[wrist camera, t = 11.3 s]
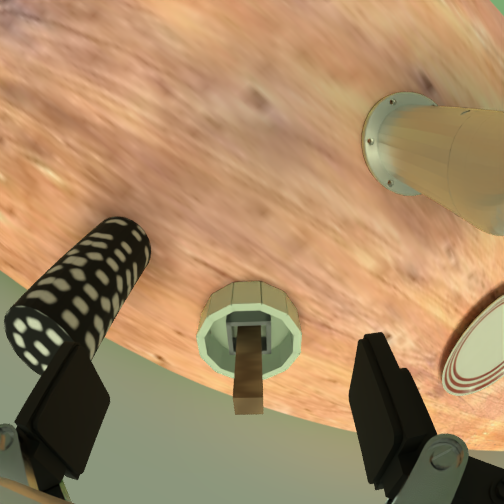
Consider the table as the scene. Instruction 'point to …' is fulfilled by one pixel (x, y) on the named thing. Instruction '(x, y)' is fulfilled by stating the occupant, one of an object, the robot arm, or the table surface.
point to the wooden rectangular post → (248, 371)
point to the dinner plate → (477, 353)
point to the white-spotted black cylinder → (79, 293)
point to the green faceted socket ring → (249, 314)
